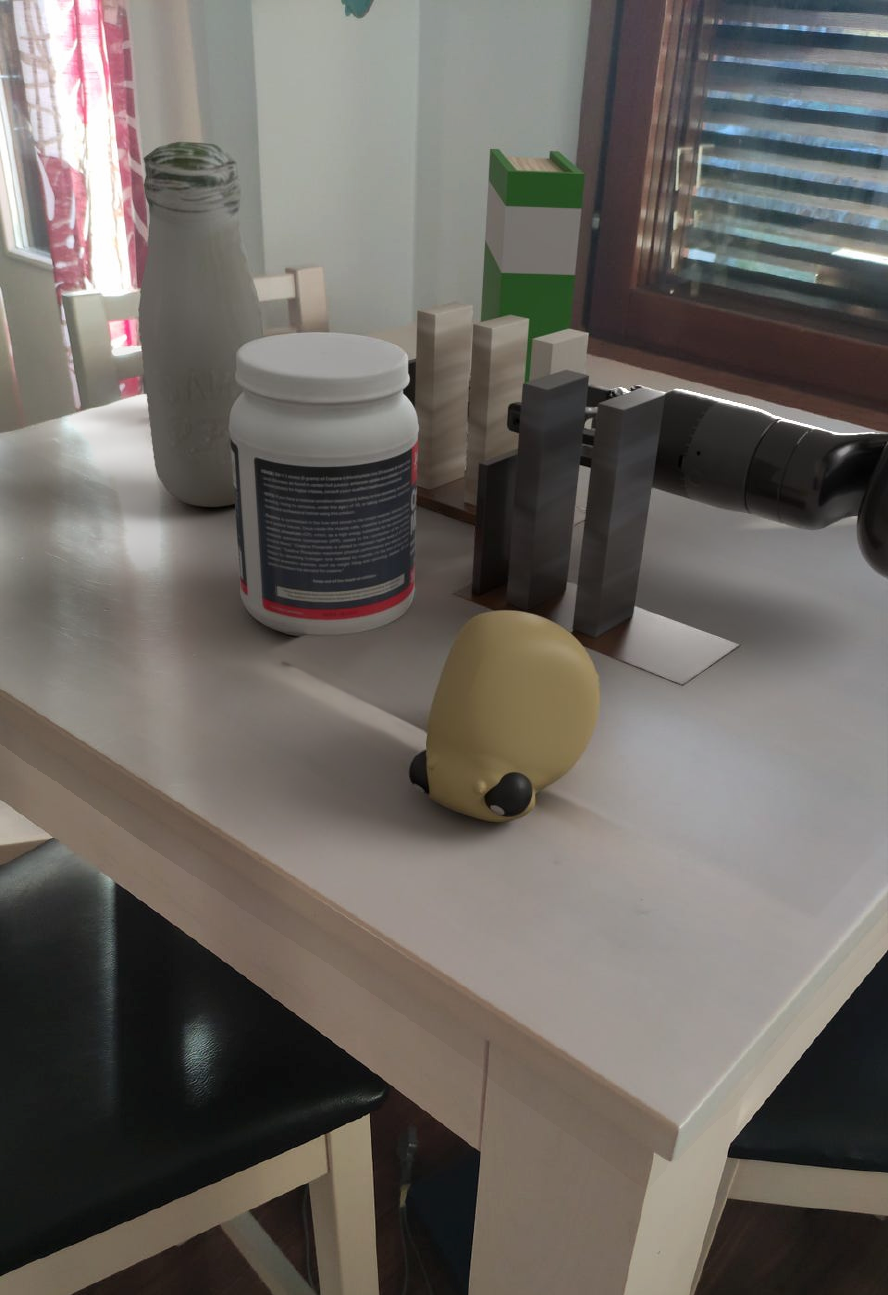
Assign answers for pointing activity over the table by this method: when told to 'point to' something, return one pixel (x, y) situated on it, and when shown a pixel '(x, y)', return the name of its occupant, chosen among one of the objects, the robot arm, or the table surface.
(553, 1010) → the table surface
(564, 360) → the beige rectangular block
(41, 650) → the table surface
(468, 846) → the table surface
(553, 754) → the yellow toy with eyes
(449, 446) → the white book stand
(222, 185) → the glass bottle
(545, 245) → the hardback book
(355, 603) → the supplement tub
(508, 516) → the grey book stand
